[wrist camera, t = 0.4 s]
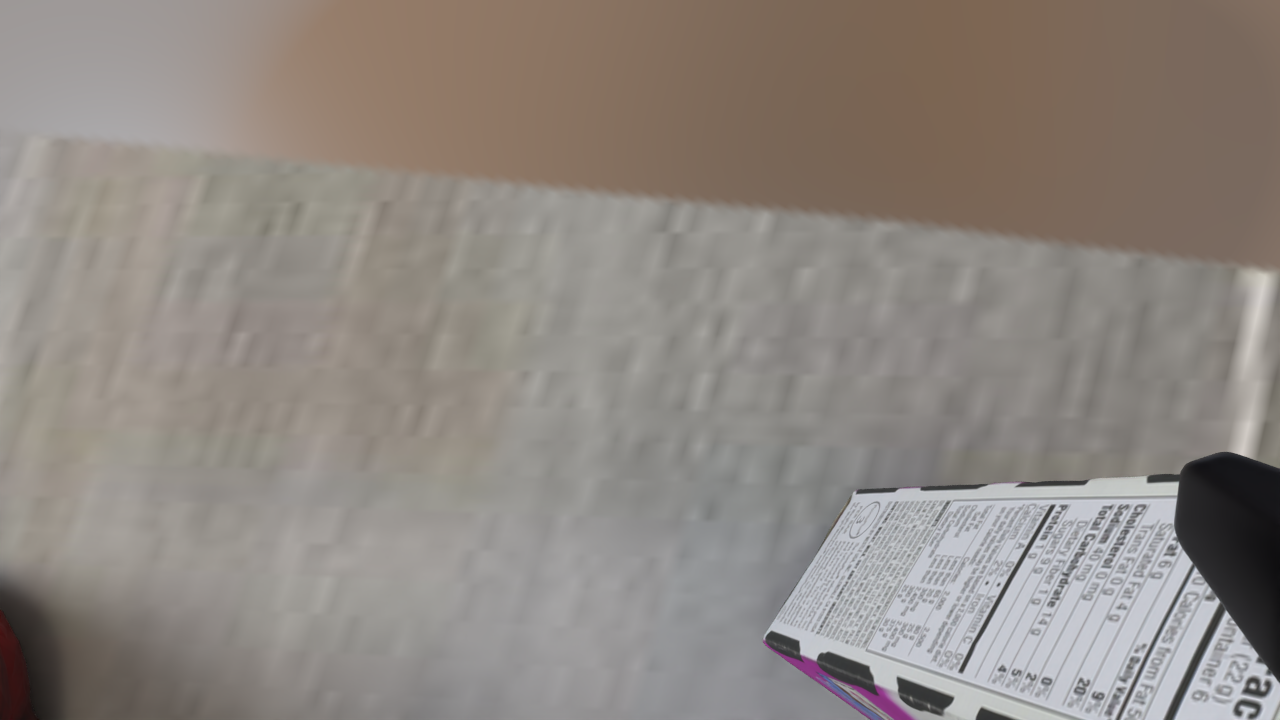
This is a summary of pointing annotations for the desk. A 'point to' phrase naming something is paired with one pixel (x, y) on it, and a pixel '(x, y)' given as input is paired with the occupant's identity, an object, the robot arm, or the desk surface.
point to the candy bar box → (1019, 608)
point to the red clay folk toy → (13, 677)
